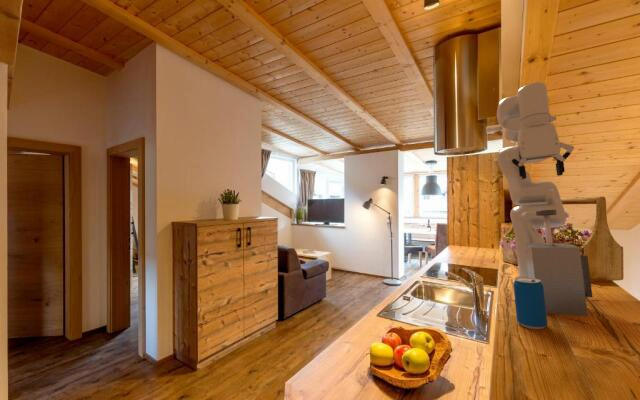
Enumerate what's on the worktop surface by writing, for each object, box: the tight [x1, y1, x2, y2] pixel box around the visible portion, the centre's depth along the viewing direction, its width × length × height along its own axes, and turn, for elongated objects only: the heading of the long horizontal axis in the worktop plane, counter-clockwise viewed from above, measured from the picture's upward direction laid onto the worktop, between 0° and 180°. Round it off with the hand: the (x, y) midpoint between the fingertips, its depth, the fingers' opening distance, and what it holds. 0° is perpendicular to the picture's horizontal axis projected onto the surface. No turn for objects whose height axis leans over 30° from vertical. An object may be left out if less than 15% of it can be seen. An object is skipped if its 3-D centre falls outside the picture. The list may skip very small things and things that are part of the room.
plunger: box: [536, 209, 557, 246], centre depth 86 cm, size 9×9×19 cm
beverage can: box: [512, 276, 548, 330], centre depth 74 cm, size 6×6×12 cm
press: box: [525, 242, 593, 317], centre depth 85 cm, size 11×14×19 cm
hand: (541, 176), depth 88 cm, fingers open, 8 cm apart
